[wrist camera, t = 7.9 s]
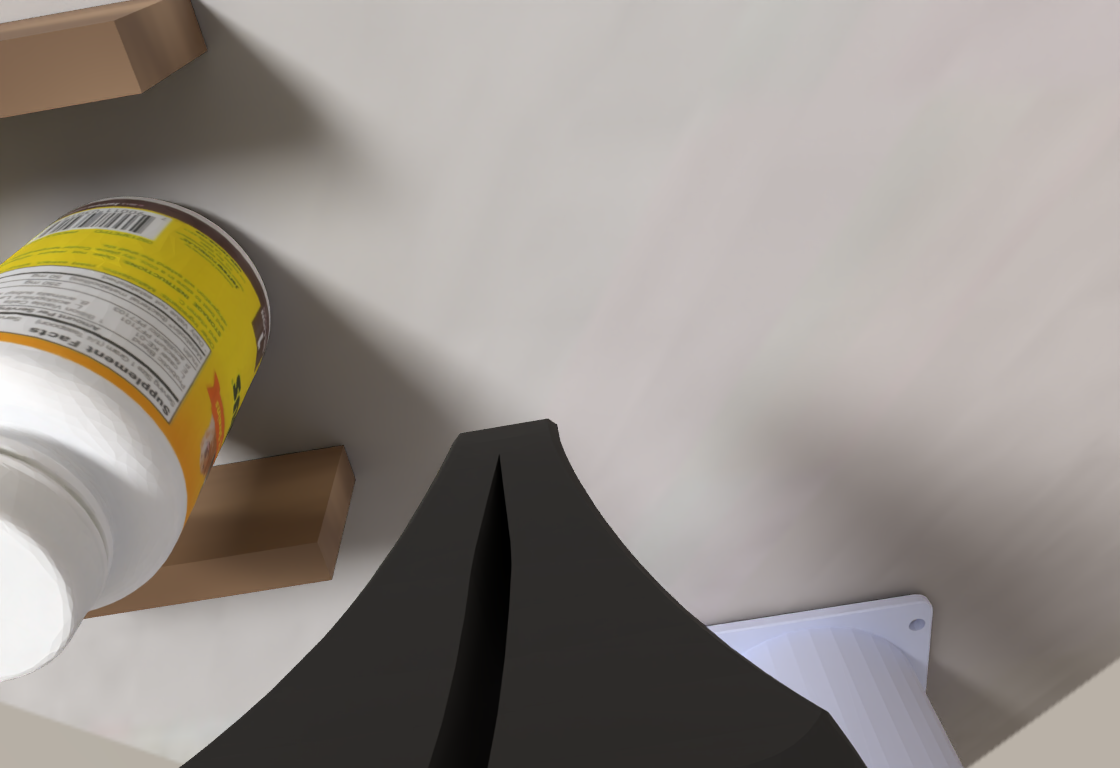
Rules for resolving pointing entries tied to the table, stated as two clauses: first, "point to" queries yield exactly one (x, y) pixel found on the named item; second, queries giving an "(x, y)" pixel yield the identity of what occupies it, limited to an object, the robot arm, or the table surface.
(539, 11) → the table surface
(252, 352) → the supplement bottle
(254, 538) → the brown piece
